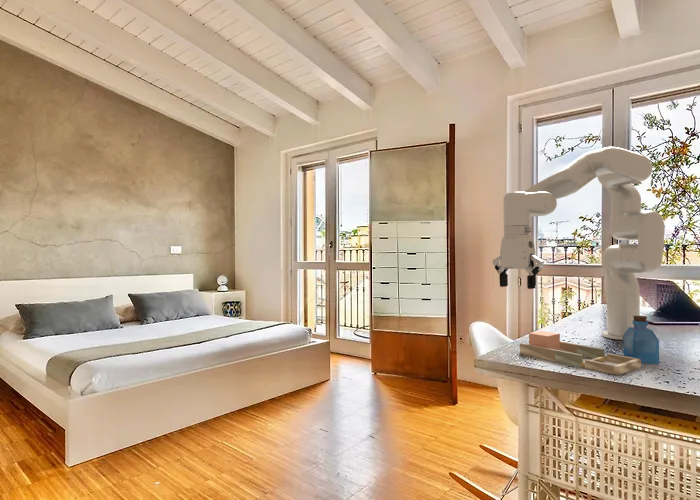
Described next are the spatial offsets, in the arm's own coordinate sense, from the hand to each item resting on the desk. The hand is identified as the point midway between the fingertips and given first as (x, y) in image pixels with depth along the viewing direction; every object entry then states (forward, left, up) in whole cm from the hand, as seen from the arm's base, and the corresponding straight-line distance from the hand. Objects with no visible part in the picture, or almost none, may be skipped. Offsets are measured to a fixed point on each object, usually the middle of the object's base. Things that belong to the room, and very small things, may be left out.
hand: (517, 287), depth 134 cm
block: (0, +9, -19) cm, 21 cm away
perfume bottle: (-13, +29, -19) cm, 37 cm away
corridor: (0, +18, -19) cm, 26 cm away
